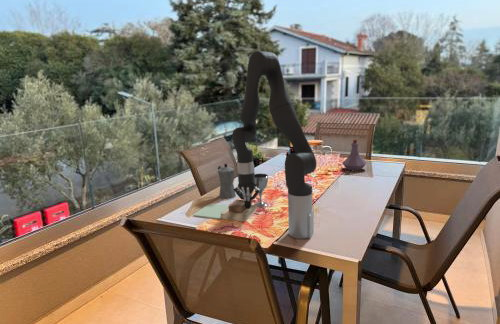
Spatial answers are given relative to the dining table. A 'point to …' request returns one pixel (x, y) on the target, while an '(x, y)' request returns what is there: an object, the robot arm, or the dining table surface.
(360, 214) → the dining table surface
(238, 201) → the brown rectangular block
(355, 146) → the flask
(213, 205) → the mat
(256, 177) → the wine glass
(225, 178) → the coffeepot
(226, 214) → the board
